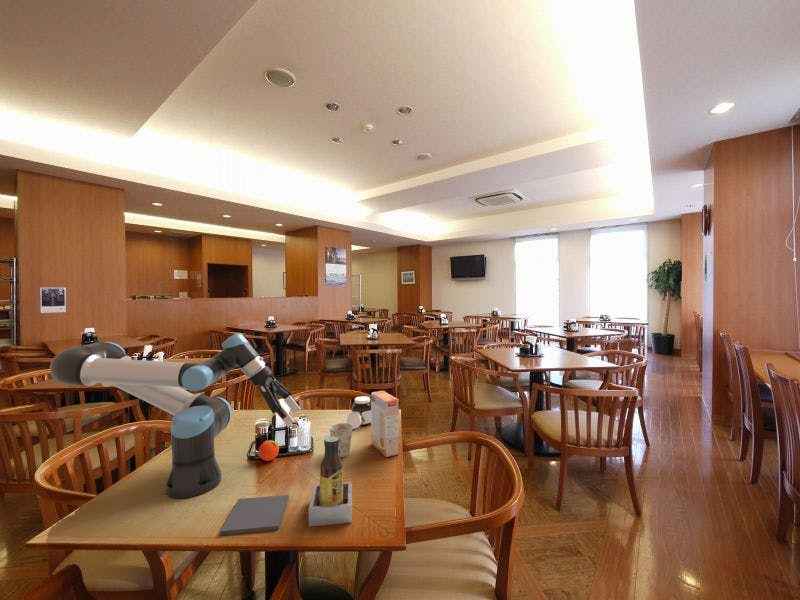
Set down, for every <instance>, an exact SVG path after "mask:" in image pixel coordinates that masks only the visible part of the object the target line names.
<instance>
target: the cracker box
mask: <svg viewBox="0 0 800 600" xmlns="http://www.w3.org/2000/svg"><path fill="white" fill-rule="evenodd" d="M370 398H371V399H370V403H371V424H370V425H371V427H370V428H371V445H372V446H373V447H374V448H375V449H376V450H377V451H378V452H379V453H380V454H382V455H383V456H384V457H385V458H388V457H389V458H391V457H394V456H398V455H400V423H399V422H400V421H399V419H400V417H399V415H400V409H399V401H400V399H399V398H397V397H395V396H393V395H392V394H389V393H388V392H387V391H385V390H379V391H373V392H371V393H370Z"/></svg>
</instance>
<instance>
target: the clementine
mask: <svg viewBox="0 0 800 600" xmlns="http://www.w3.org/2000/svg"><path fill="white" fill-rule="evenodd" d="M280 448H281V445H280V443H278V442H277V441H275V440H272V439H271V440H270V439H268V440H265V441H263V442H262V443H261V444H260V446H259V448H258V455H259V457H260V459H261V460H263V461H265V462H269V461H273V460H274V459H275V458H276V457H277V456H278V454H279V453H280V452H279V451H280Z"/></svg>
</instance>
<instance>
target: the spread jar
mask: <svg viewBox="0 0 800 600" xmlns="http://www.w3.org/2000/svg"><path fill="white" fill-rule="evenodd" d="M370 398H371V397H369V396H356V397H355V398H354V403H353V404H352V407H351V412H350V413H349V414H348V415H347V417H346V423H347V424H350V425H352V430H354V429H355V430H357V429H358V428H359V427H367V426H369V425H371V399H370Z"/></svg>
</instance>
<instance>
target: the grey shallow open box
mask: <svg viewBox="0 0 800 600" xmlns="http://www.w3.org/2000/svg"><path fill="white" fill-rule="evenodd" d="M312 487H313V488H312V492H311V496H310V501H309V506H308V527H319V526H329V525H330V526H331V525H341V524H351V523H353V482H352V481H343V500H347V503H343V504H339V505H328V506H320V505H319V506H317V504H318V502H320V483H315V484H313V486H312Z"/></svg>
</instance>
